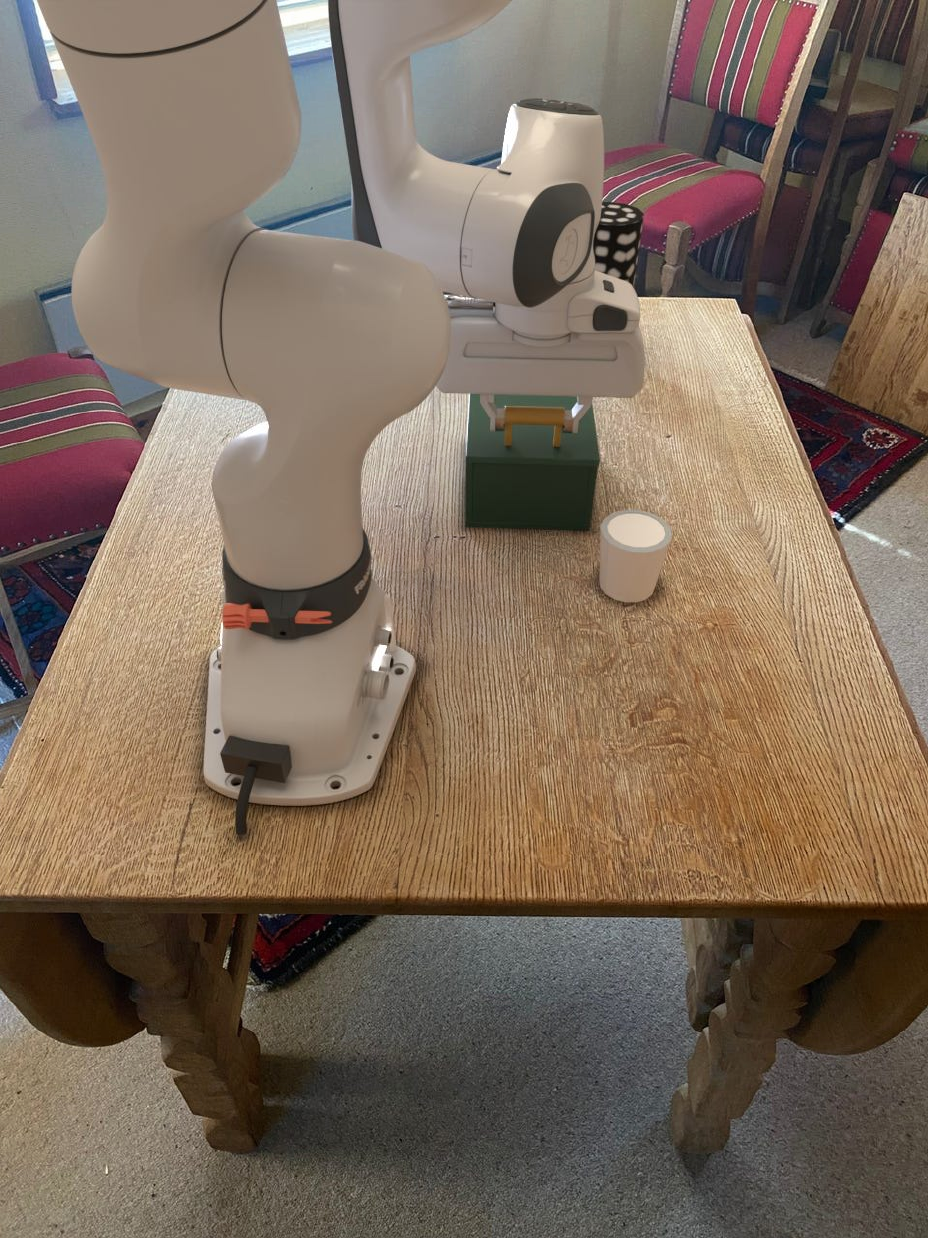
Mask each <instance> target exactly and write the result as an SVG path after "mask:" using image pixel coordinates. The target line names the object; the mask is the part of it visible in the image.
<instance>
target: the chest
mask: <svg viewBox="0 0 928 1238" xmlns="http://www.w3.org/2000/svg"><path fill="white" fill-rule="evenodd" d="M598 469H599V466H566V465H529V464H492V463H466V462H465V484H464V485H465V486H464V487H465V489H464V490H465V492H464V493H465V494H464V495H465V496H464V527H465V528H473V529H475V528H476V529H508V530H509V529H511V530H543V531H545V530H547V531H580V532H581V531H583V532H586V531H587V532H589V531H590V530H591V523H592V517H593V516H592V515H593V509H594V501H595V500H594V499H595V492H596V485H597V477H598Z"/></svg>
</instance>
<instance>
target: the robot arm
mask: <svg viewBox="0 0 928 1238" xmlns="http://www.w3.org/2000/svg"><path fill="white" fill-rule="evenodd" d="M277 1H278V0H36V2H37V4H38V7H39V9H40V12H41V14H42V17H43V20H44V22H45V25H46V28H47V29H48V32H49V34H50V36H51V39H52V41H53V43H54V46H55V48H56V51H57V53H58V55H59V58H60V60H61V64H62V66H63V68H64V70H65V72H66V75H67V77H68V81H69V82H70V85H71V87H72V90H73V92H74V95H75V98H76V101H77V102H78V105H79V108H80V110H81V113H82V115H83V118H84V121H85V123H86V126H87V129H88V131H89V133H90V136H91V140H92V142H93V145H94V147H95V150H96V153H97V155H98V160H99V162H100V165H101V170H102V173H103V177H104V178H103V179H104V183H105V189H106V190H105V191H106V213H105V217H104V221H103V223H102V225H100V227H99V228H98V229H97V230H95V232H94V233H92V235H90V237H89V238H88V240H86V242H85V244H84V245H83V247H82V249H81V251H80V253H79V255H78V257H77V259H76V262H75V265H74V268H73V273H72V279H71V290H70V291H71V305H72V311H73V315H74V319H75V322H76V324H77V328H78V330H79V333H80V335H81V337H82V339H83V340H84V343H85V344H86V345H87V347H88V348H89V350H90V351H91V353H92V354H93V355H94V356H95V357H96V358H97V359H98V360H99V361H101V362H102V363H104V364H105V365H107V366H109V367H111V368H114V369H117V370H119V371H120V372H121V371H122V372H123V373H126V374H128V375H131V376H133V377H136V378H139V379H141V380H145V381H147V382H150V383H153V384H154V385H157V386H160V387H163V388H168V389H171V390H172V389H173V390H179V391H186V392H191V393H198V394H203V395H211V396H216V397H217V396H218V397H224V398H229V399H236V400H241V401H247V402H250V403H253V404H257V405H258V406H259V407H260V408H261V409H262V411H263V413H264V415H265V419H266V421H265V422H262V423H259V424H257V425H255V426H253V427H251V428H249V429H247V430H245V431H244V432H242V433H241V434H239V435H237V436H236V437H234V438H233V440H232V439H231V441H230V442H229V443H228V444H227V445H226V446H225V447H224V448H223V450H222V451H221V453H220V454H219V456H218V458H217V460H216V463H215V466H214V468H213V472H212V478H211V491H212V496H213V501H214V505H215V509H216V514H217V520H218V524H219V529H220V533H221V538H222V542H223V548H222V553H221V559H222V564H221V565H222V568H221V577H222V586H223V589H221V590H220V592H219V596H220V599H221V603H222V613H221V614H222V616H221V628H220V637H219V640H220V646H218V647H217V648H216V649H215V650H213V651H212V652H211V653H210V655H209V656H210V657H209V667H208V684H207V699H206V701H207V702H206V719H205V720H206V721H205V735H204V752H203V769H202V771H203V772H202V773H203V779H204V783H205V785H206V786H208V787H209V788H210V789H211V790H213V791H215V792H216V793H219V794H220V795H223V796H225V797H228V798H231V799H233V800H237V801H236V806H235V815H234V816H235V817H234V818H235V820H234V821H235V823H234V824H235V826H234V827H235V835H237V836H245V835H246V834H247V833H248V831H247V829H248V827H247V821H248V820H247V816H248V815H247V814H248V807H249V803H252V804H259V805H267V806H269V805H270V806H282V807H283V806H286V807H293V806H295V807H297V806H300V807H302V806H303V807H304V806H318V805H319V806H320V805H326V804H333V803H337V802H341V801H345V800H349V799H352V798H355V797H357V796H359V795H361V794H363V793H366V792H367V791H369V790H370V789H371V788H372V787H373V785H374V784H375V782H376V779H377V777H378V774H379V772H380V770H381V766H382V763H383V761H384V759H385V755H386V753H387V750H388V747H389V745H390V742H391V739H392V737H393V734H394V732H395V728H396V726H397V723H398V721H399V718H400V715H401V713H402V710H403V708H404V704H405V702H406V699H407V696H408V694H409V691H410V688H411V687H412V683H413V680H414V678H415V676H416V672H417V662H416V659H415V657H414V656H413V655H412V654H411V653H410V652H409V651H407V650H405V649H403V648H402V647H400V646H398V645H397V640H396V639H397V638H396V629H395V621H394V613H393V606H392V605H393V604H392V597H391V596H390V595H389V594H388V593H387V591H385V590H384V589H383V588H382V587H381V586H380V585H379V584H378V583H377V582H376V580H375V579H374V578H373V577H372V576H373V572H372V570H373V569H372V565H373V561H372V560H373V557H372V550H371V546H370V543H369V542H370V541H369V538H368V534H367V532H366V530H365V529H364V528H363V517H362V515H363V513H362V474H363V473H362V472H363V467H364V466H363V465H364V461H365V458H366V455H367V453H368V451H369V449H370V447H371V445H372V443H374V441H375V439H376V438H377V437H378V435H379V434H380V433H381V432H382V431H383V430H384V429H385V428H386V427H387V426H389V425H390V424H391V423H393V422H394V421H396V420H398V419H399V418H401V417H403V416H405V415H407V414H409V413H411V412H413V410H414V409H416V408H418V407H419V406H420V405H421V404H422V403H423V402H424V401H425V400H426V399H427V398H428V397H429V396H430V395H431V394H432V392H433V391H434V390H435V388H437V389H438V390H439V391H440V392H441V393H442V394H458V395H459V394H460V395H461V394H463V395H464V394H465V395H469V394H480V403H481V405H482V407H483V408H484V410H485V411H486V413H487V414H488V416H489V417H490V431H504V429H505V409H499V408H497V407H496V405H495V403H494V394H498V395H538V396H576V397H577V400H578V402H577V403H576V404H575V406H574V407H573V409H572V410H565V419H564V425H563V426H562V429H563V433H577V432H578V423H579V420H580V419H581V418H582V417H583V416H584V414H585V413H586V412H587V411H588V409H589V408H590V407H591V406H593V399H594V398H616V399H617V398H618V399H620V398H623V399H632V398H634V397H635V396H637V395H638V394H639V393H640V392H641V391H642V389H643V386H644V379H645V369H646V367H645V366H646V365H645V364H646V362H645V361H646V360H645V359H646V358H645V357H646V355H645V354H646V353H645V344H644V339H643V334H642V329H641V327H640V320H641V305H640V304H641V303H640V299H639V296H638V294H637V291H636V289H635V287H634V288H633V286H632V285H631V284H630V283H629V282H626V281H624V280H621V279H618V278H615V277H612V276H609V275H607V274H604V273H601V272H598V271H596V270H595V256H594V250H593V240H594V235H595V232H596V229H597V227H598V224H599V221H600V217H601V208H602V202H603V197H604V181H605V135H604V134H605V133H604V124H603V118H602V115H601V114H600V113H599V112H598V111H596V110H595V109H594V108H593V107H591V106H589V105H586V104H581V103H579V102H570V101H564V100H557V99H543V98H535V97H533V98H531V97H530V98H524V99H520V100H518V101H516V102H514V103H512V104H511V106H510V108H509V112H508V115H507V121H506V127H505V131H504V139H503V145H502V154H501V163H500V164H499V165H498V166H497V167H496V168H495V169H494V168H488V167H482V166H478V165H471V164H466V163H460V162H455V161H449V160H445V159H442V158H440V157H437V156H435V155H433V154H432V153H429V151H427V150H426V149H424V148H423V147H422V146H421V145H420V143H418V140H417V137H416V124H415V112H414V97H413V83H412V82H413V81H412V68H411V56H413V55H414V54H416V53H419V52H420V51H424V50H427V49H429V48H431V47H435V46H439V45H441V44H444V43H445V44H446V43H448V42H452V41H454V40H455V41H456V40H457V39H459V38H462V37H465V36H466V35H468V34H470V33H472V32H474V31H475V30H477V29H479V28H480V27H482V26H484V25H486V23H488V22H489V21H491V20H492V19H493V18H495V17H496V16H498V14H499V13H501V12H502V11H503V10H504V9H505V8H506V7H507V6H508V5H510V3H511V2H512V1H513V0H327V10H328V11H327V12H328V13H327V14H328V27H329V36H330V45H331V52H332V60H333V68H334V75H335V81H336V87H337V93H338V101H339V107H340V114H341V121H342V127H343V133H344V139H345V147H346V153H347V160H348V166H349V173H350V181H351V203H350V204H351V209H350V222H351V224H350V225H351V233H352V237H353V239H346V238H337V237H331V236H330V237H329V236H321V235H312V234H303V233H295V232H287V231H279V230H271V229H268V228H265V227H261V226H257V225H255V224H254V223H253V221H251V219H250V218H249V217H248V215H247V214H246V212H245V210H246V209H249V208H250V207H251V206H253V205H254V204H255V203H257V202H259V201H260V200H261V199H263V198H264V197H266V196H267V195H268V194H269V193H270V192H271V191H272V190H273V189H275V188H276V187H277V186H278V185H279V184H280V183H281V182H282V180H283V179H284V178H285V177H286V175H287V174H288V173H289V172H290V169H291V167H292V165H293V163H294V161H295V159H296V156H297V153H298V150H299V146H300V141H301V133H302V124H303V123H302V121H303V119H302V117H303V116H302V110H301V106H300V102H299V96H298V92H297V87H296V84H295V83H296V82H295V78H294V73H293V69H292V65H291V60H290V55H289V51H288V46H287V41H286V38H285V33H284V28H283V23H282V20H281V15H280V10H279V6H278V5H279V4H278V2H277ZM444 293H447V294H448V295H446V296H445V294H444ZM236 784H238V785H236ZM335 787H338V788H336V789H335Z"/></svg>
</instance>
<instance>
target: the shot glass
mask: <svg viewBox="0 0 928 1238" xmlns="http://www.w3.org/2000/svg"><path fill="white" fill-rule="evenodd" d="M672 537H673V532H672V529H671V526H670V525H669V523H667V521H665V519H663V518H662V517H660V516H658V515H657V514H654V513H653V512H649V511H645V510H641V509H622V510H618V511H614V512H612V513H610V514H609V515H607V516H605V517H604V519H603V521H602V523H601V525H600V538H599V576H598V578H599V579H598V580H599V581H598V582H599V587H600V589H601V590H602V591H603V593H604V594H605V595H606V596H608V597H609V598H611V599H613V600H615V601H618V602H623V603H639V602H642V601H645V600H648V599H649V598H650V597H651V596H652V595H654V592H655V588H656V585H657V583H658V580H659V577H660V574H661V570H662V568H663V565H664V561H665V558H666V556H667V552H668V549H669V546H670V543H671V540H672Z"/></svg>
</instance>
